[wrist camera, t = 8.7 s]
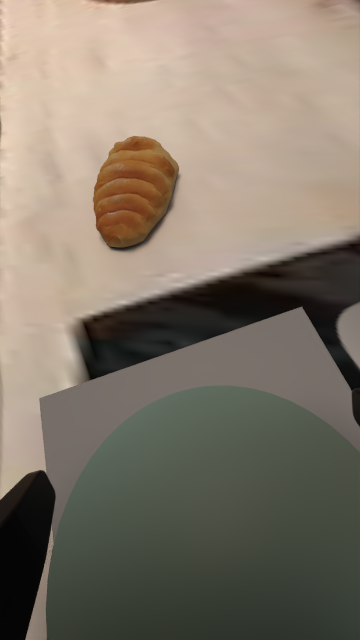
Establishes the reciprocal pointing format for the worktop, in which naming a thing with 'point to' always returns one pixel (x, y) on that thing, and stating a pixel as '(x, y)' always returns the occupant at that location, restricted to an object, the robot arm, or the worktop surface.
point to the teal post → (212, 526)
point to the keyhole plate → (191, 372)
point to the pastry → (133, 190)
